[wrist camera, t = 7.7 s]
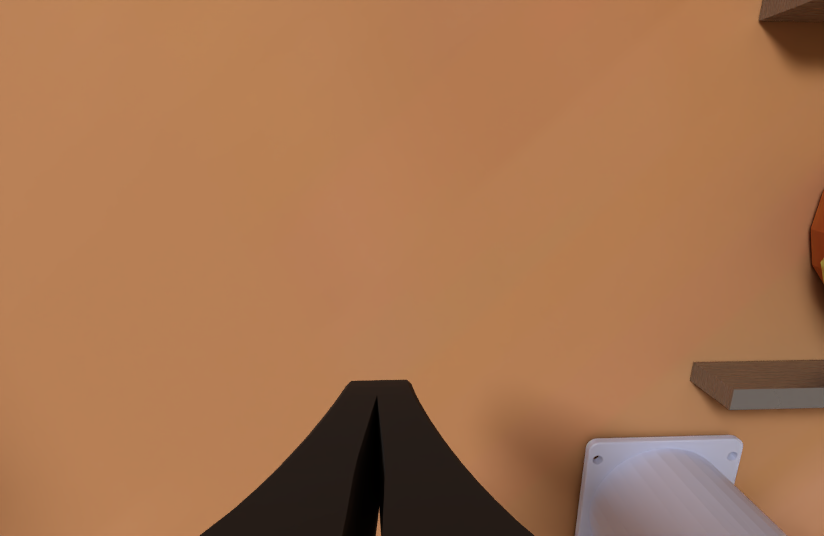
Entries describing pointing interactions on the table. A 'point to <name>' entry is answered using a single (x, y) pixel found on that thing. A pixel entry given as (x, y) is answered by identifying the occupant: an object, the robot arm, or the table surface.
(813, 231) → the cheeseburger
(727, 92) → the table surface
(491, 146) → the table surface
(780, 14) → the rack
